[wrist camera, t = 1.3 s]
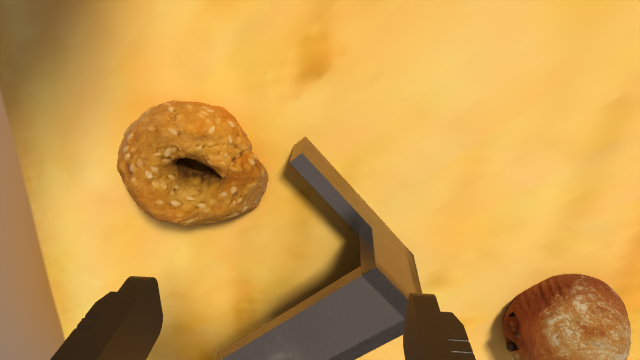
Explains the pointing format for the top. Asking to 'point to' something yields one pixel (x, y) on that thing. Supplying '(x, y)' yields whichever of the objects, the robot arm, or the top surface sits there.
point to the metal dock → (340, 285)
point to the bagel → (180, 180)
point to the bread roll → (568, 321)
